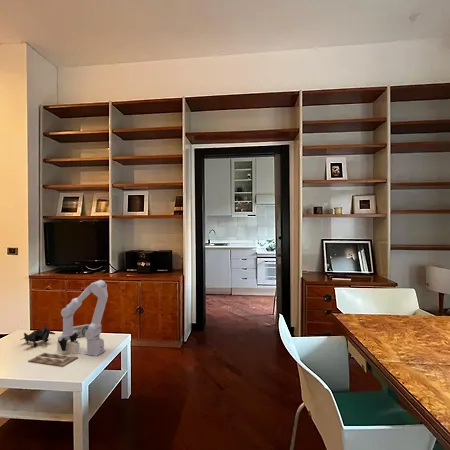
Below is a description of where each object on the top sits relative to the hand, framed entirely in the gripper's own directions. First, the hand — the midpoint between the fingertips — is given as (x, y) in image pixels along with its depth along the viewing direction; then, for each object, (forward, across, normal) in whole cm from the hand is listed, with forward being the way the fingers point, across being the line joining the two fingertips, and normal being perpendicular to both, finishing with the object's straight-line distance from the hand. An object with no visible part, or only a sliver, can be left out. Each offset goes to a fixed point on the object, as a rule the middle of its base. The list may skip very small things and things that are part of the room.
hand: (68, 348), depth 210 cm
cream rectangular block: (+2, 0, 0) cm, 2 cm away
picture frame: (+2, +13, +1) cm, 13 cm away
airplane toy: (+2, -5, -29) cm, 30 cm away
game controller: (+2, -23, -12) cm, 26 cm away
